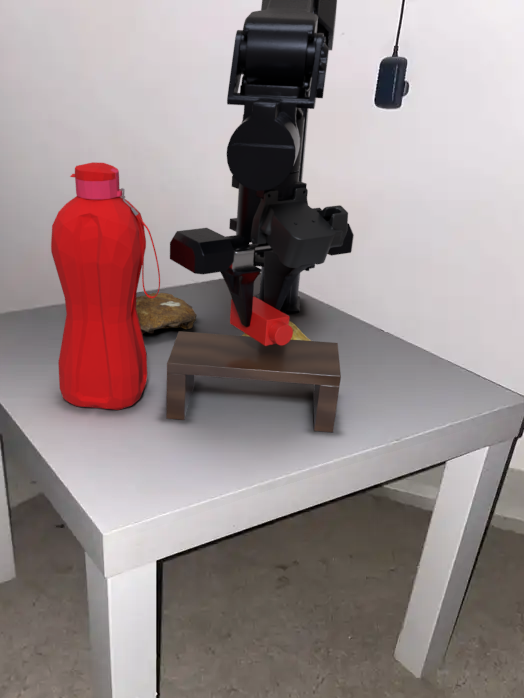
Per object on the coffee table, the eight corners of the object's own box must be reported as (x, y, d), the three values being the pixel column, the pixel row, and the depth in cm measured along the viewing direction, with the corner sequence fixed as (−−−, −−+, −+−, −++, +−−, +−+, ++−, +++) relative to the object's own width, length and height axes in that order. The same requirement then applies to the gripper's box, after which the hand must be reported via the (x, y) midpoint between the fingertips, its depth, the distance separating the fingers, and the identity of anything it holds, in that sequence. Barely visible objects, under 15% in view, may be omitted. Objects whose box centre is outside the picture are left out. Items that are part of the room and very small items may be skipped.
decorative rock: (125, 357, 99) (210, 334, 107) (126, 327, 96) (213, 306, 105) (74, 326, 105) (158, 307, 114) (74, 298, 103) (160, 280, 112)
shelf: (177, 383, 92) (178, 331, 88) (330, 395, 90) (337, 342, 86) (166, 418, 84) (166, 362, 81) (333, 432, 82) (341, 376, 79)
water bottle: (151, 418, 84) (151, 177, 71) (53, 409, 85) (36, 170, 72) (165, 382, 92) (168, 159, 79) (76, 374, 93) (64, 153, 80)
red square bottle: (229, 323, 84) (230, 298, 83) (251, 319, 85) (252, 295, 84) (271, 350, 78) (273, 324, 77) (294, 345, 79) (296, 320, 78)
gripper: (230, 194, 64) (221, 368, 72) (401, 177, 72) (376, 335, 80) (168, 169, 72) (166, 327, 80) (328, 156, 80) (311, 302, 88)
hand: (257, 323), depth 82 cm, fingers closed on red square bottle, 3 cm apart
